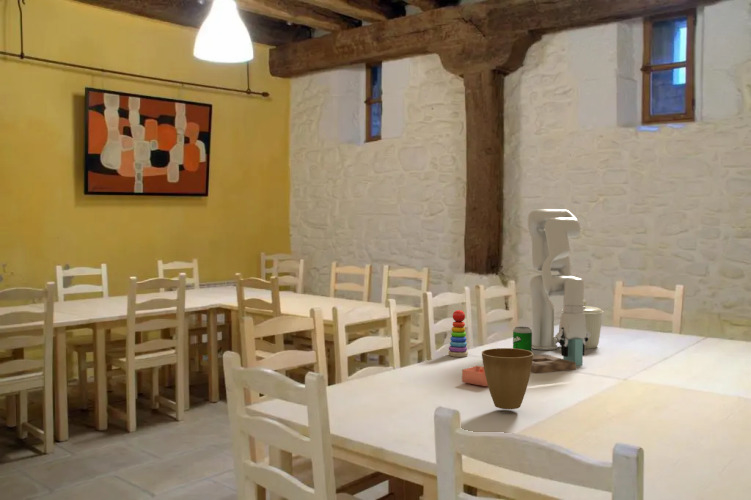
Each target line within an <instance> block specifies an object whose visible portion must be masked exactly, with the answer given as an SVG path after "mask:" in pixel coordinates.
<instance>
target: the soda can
mask: <svg viewBox="0 0 751 500" xmlns="http://www.w3.org/2000/svg"><path fill="white" fill-rule="evenodd" d="M531 329H532V328H531V327H529V326H515V327H514V328H513V330H512V348H514V349H523V350H528V351H531V352H532V350H533V349H532V330H531Z"/></svg>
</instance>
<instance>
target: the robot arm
mask: <svg viewBox="0 0 751 500" xmlns="http://www.w3.org/2000/svg"><path fill="white" fill-rule="evenodd" d="M527 229H528V232H529V236H530V237H531V256H532V267H533V270H535V271H536V272H541V274H538V275H534V276H533V277H531V278H530V281H529V291H530V299H531V328H530V329H531V330H532V350H542V351H552V350H553V351H554V350H557V349H558V348H559V347H558V344H559V346H561V351H560V352H561V356H562V357H563V356H565V357H568V346H567V344H568V342H569V340H572V339H583V356H585V349H584V347H585V345H586V342H587V341H588V338H589V337H590V336H591V334H590V333H589V332H588V331H587V330H586V318H585V313H584V310H585V306H584V300H585V283H584V282H585V281H584V279H583V278H581V277H577V276H574V275H572V272H571V270H572V268H571V258H570V254H571V245H570V242H569V239H574V238H578V237H579V236H580V234H581V229H582V228H581V225H580V222H579V220H578V218H577V216H575V215H574V214H573V213H572V212H571V211H569V210H568V209H560V208H538V209H533V210H531V211H530V212H529V213H528V216H527ZM554 272H555V273H557V274H552V273H554ZM554 297H555V298H563V308H562V309H563V312H561V314H560V318H559V327H558V332H557V333H556V334H555V306H554V304H553V303H552V301H551V300H550V298H554Z"/></svg>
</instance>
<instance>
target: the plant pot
mask: <svg viewBox="0 0 751 500" xmlns="http://www.w3.org/2000/svg"><path fill="white" fill-rule="evenodd" d="M533 355H534V353H533V352H531V351H528V350H523V349H514V348H513V347H512V348H511V347H509V348H508V347H504V348H502V347H500V348H499V347H496V348H489V349H485V350H482V351H481V359H482V364H483V366H482V367H484V371H485V376H486V380H487V384H488V386H487V387H488V389H489V393H490V396H491V399H492V402H493V404H494V406H495V408H498V409H501V410H515V409H516V410H517V409H519V408H521V405H522V403H523V400H524V398H525V395H526V392H527V388H528V385H529V381H530V377H531V373H532V372H531V367H532V360H533Z"/></svg>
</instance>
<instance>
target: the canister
mask: <svg viewBox="0 0 751 500" xmlns="http://www.w3.org/2000/svg"><path fill="white" fill-rule="evenodd" d="M587 303H588V302H587V300H585V299H584V306H585V310H584V313H585V318H586V330H587V331H588V332H589V333H590V334H591V336H590V337H589V338H588V341H587V342H586V345H585V347H584V350H590V349H589V348H592V349H596V348H597V347H598V346H599V342H600V337H601V330H602V329H601V328H602V322H603V314H604V313H605V311H604V310H602V309H601V308H600V307H596V306H590V305H589V306H588V305H587ZM560 311H561V313H563V308H562V309H561V310H560ZM585 348H587V349H585Z"/></svg>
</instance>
